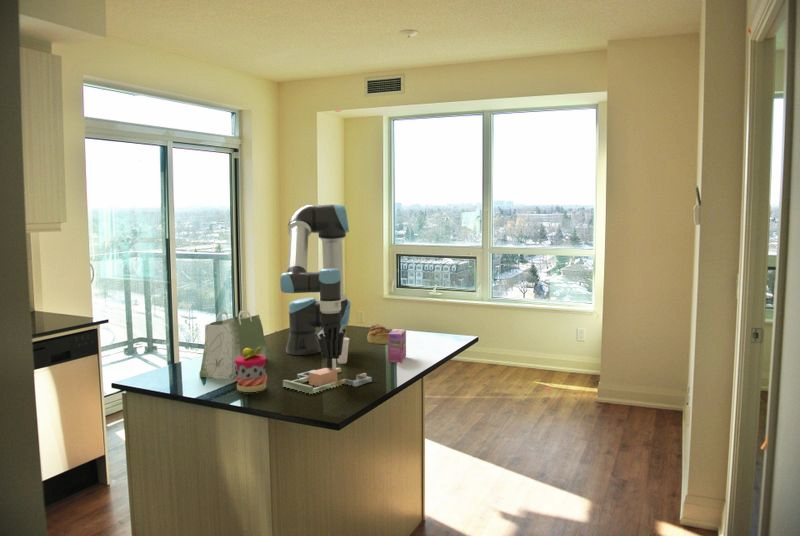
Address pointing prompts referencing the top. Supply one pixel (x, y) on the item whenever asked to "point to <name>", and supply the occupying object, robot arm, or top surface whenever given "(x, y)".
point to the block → (322, 377)
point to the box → (397, 345)
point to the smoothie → (344, 351)
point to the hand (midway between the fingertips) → (332, 376)
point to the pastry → (378, 334)
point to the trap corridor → (309, 389)
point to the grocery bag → (230, 344)
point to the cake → (251, 371)
